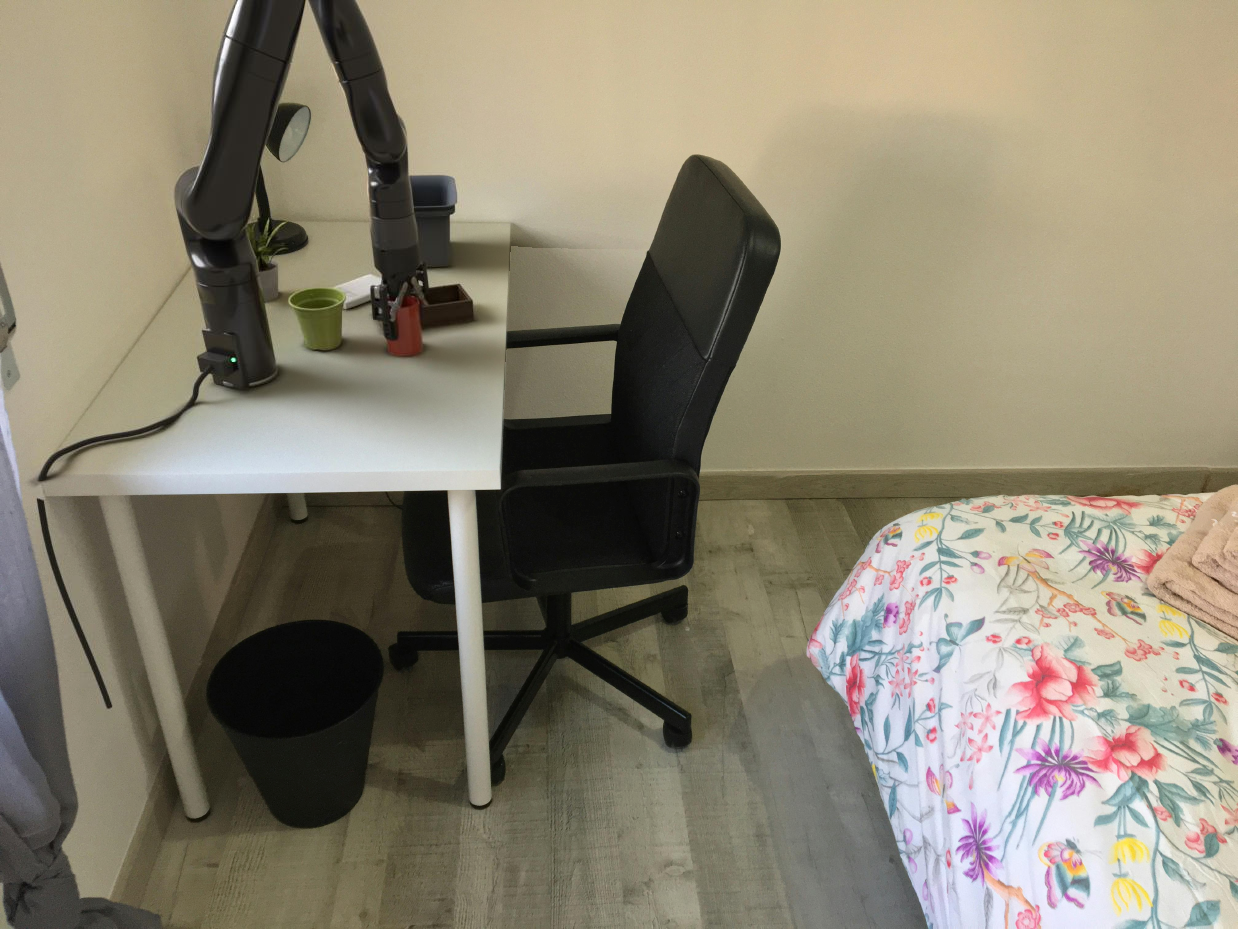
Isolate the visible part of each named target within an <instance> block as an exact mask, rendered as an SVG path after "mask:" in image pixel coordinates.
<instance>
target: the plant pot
mask: <svg viewBox="0 0 1238 929" xmlns="http://www.w3.org/2000/svg"><path fill="white" fill-rule="evenodd" d="M345 300H346V295H345V293H344V292H342V291H340V290H338V289H334V288H333V287H325V286H324V287H323V286H322V287H318V286H317V287H309V288H304V289H301V290H298V291H296V292H294V293H293V294H291V295H290V296H289V297H288V305H289V306H290V307H291V308H292V310H293V312H294V313H295V315H296V319H297V321H298V322H297V323H298V325H299V328H300V331H301V334H302V338H303V340H304V345H305V346H306V347H307V348H308V349H310V350H313V351H316V350H321V351H330V350H334V349H337V348H338V347H339V346H340V345H341V343H342V342H343V306H344V302H345Z"/></svg>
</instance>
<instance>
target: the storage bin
mask: <svg viewBox="0 0 1238 929" xmlns="http://www.w3.org/2000/svg"><path fill="white" fill-rule="evenodd" d="M409 179H410V184H411V189H412V196H413V206H414V215H415V219H416V224H417V232H418V242H419V253H420V261H424V262H426V268H447V267H448V266H450V265H451V215H454V214H455V213H456V205H457V204H458V192H457V185H456V180H455V179H456V178H454V177H453V176H450V175H445V174H418V175H417V174H412V175H410V174H409Z"/></svg>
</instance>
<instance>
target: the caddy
mask: <svg viewBox="0 0 1238 929" xmlns="http://www.w3.org/2000/svg"><path fill="white" fill-rule="evenodd" d="M422 303H423V315H424V319H423V320H422V321H421V328H422V329H425V328H426V329H427V328H433V327H441V326H446V325H453V324H460V323H467V322H472V321H475V315H474V314H475V313H474V299H472V297H471V296H470V295H469V293H468V292H467V291H466V290H465V288H464V287H463V286H462V285H461V283H454V284H446V285H438V286H429V292H428V294H426V293H425V294H424V300H423V301H422ZM378 309H379V313H380V310H381V308H378ZM376 321H377V323H378V325H379V326H380V328H381V330H382V332H383V333H384V330H383V323H382V321H378V320H376Z"/></svg>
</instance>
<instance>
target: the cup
mask: <svg viewBox="0 0 1238 929" xmlns="http://www.w3.org/2000/svg"><path fill="white" fill-rule="evenodd" d="M388 301H390V302H395V301H396V300H391V299H390V298H389V297H388ZM388 308H389V314H390V312H391V308H392V307H388ZM395 320H396V323H397V332H398V339H397V340H396V341H390V340H386V347H387V351H388V353H389V354H391V355H393V356H395V357H413V356H415V355H416V356H417V355H418V354H420V353H422V351H423V349H424V342H423V328H421V317H420V306H419V299H418V298H417V297H415V296H413V295H410V296H408V297H406V298H405V299H404V300H403V301H402V305H401V308H400V309H398V310H397V314H396V318H395Z"/></svg>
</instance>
